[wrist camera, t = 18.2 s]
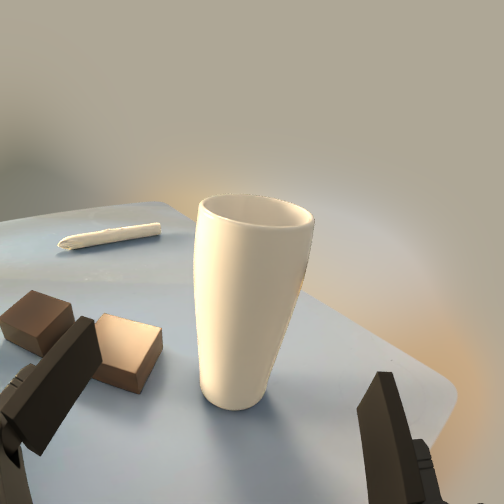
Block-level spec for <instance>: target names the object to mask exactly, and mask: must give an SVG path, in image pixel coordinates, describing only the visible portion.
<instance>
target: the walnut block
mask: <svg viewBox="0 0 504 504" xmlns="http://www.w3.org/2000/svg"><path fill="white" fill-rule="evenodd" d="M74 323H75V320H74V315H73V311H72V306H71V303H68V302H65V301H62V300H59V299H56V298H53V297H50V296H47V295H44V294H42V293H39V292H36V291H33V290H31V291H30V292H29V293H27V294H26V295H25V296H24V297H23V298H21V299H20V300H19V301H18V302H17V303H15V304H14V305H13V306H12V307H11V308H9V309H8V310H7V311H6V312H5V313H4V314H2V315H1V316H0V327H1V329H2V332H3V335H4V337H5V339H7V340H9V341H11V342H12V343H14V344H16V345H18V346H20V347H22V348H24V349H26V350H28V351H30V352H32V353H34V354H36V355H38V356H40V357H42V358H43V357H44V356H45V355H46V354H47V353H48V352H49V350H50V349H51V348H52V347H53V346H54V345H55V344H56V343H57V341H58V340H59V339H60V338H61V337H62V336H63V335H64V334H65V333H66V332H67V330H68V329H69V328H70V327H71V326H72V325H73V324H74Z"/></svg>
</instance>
